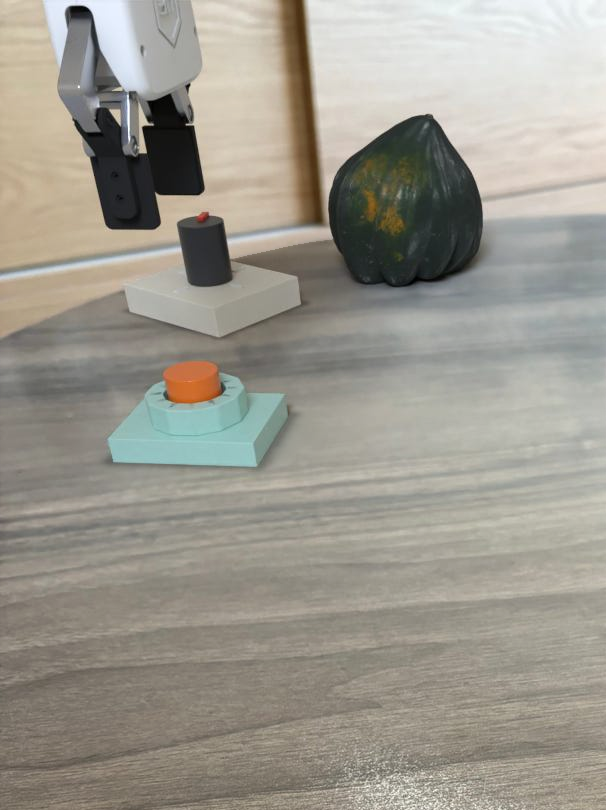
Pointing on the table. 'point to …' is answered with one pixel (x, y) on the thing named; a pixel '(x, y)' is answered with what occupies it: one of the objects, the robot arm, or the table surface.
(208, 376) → the power button
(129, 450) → the switch block
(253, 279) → the grey base plate
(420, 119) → the squash
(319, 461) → the table surface
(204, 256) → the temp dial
